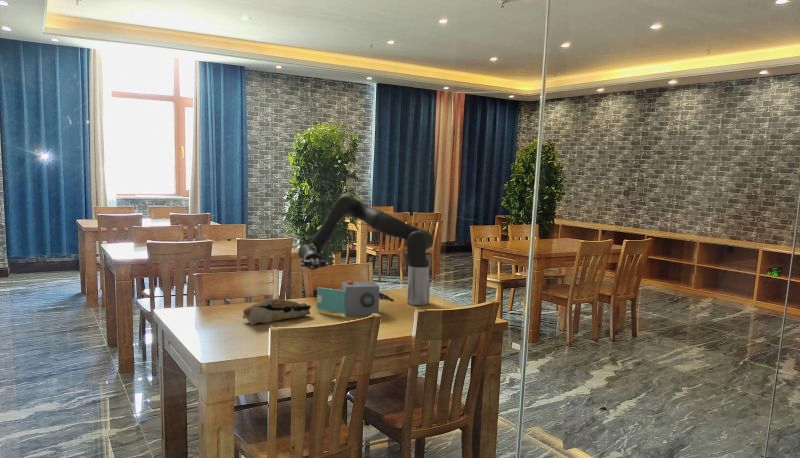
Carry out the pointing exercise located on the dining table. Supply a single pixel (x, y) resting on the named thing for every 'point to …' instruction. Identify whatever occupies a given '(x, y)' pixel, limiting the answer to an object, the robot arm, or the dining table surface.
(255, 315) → the mineral
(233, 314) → the dining table surface
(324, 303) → the door
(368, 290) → the camera box
